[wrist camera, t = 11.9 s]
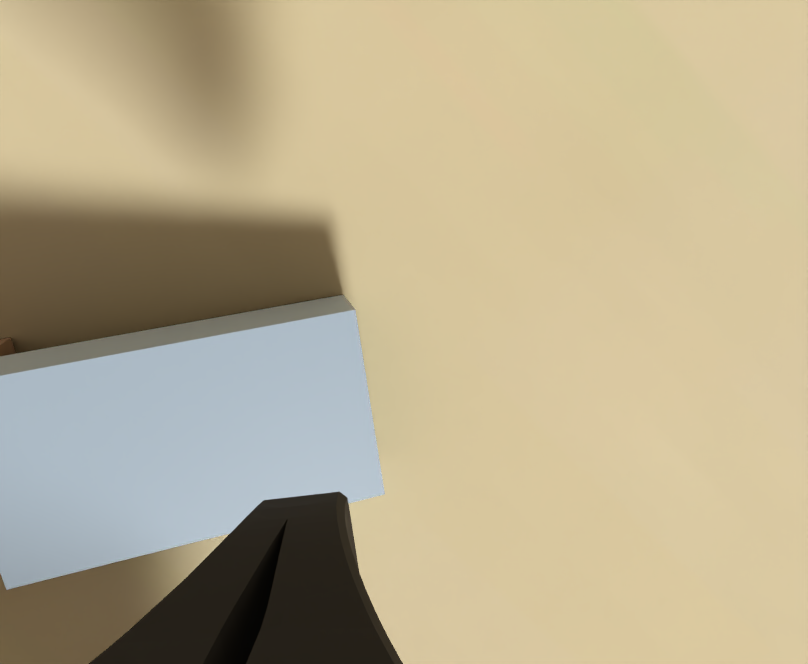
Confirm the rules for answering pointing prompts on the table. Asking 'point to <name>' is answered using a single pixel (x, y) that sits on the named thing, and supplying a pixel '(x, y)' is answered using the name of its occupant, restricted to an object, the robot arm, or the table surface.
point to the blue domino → (177, 434)
